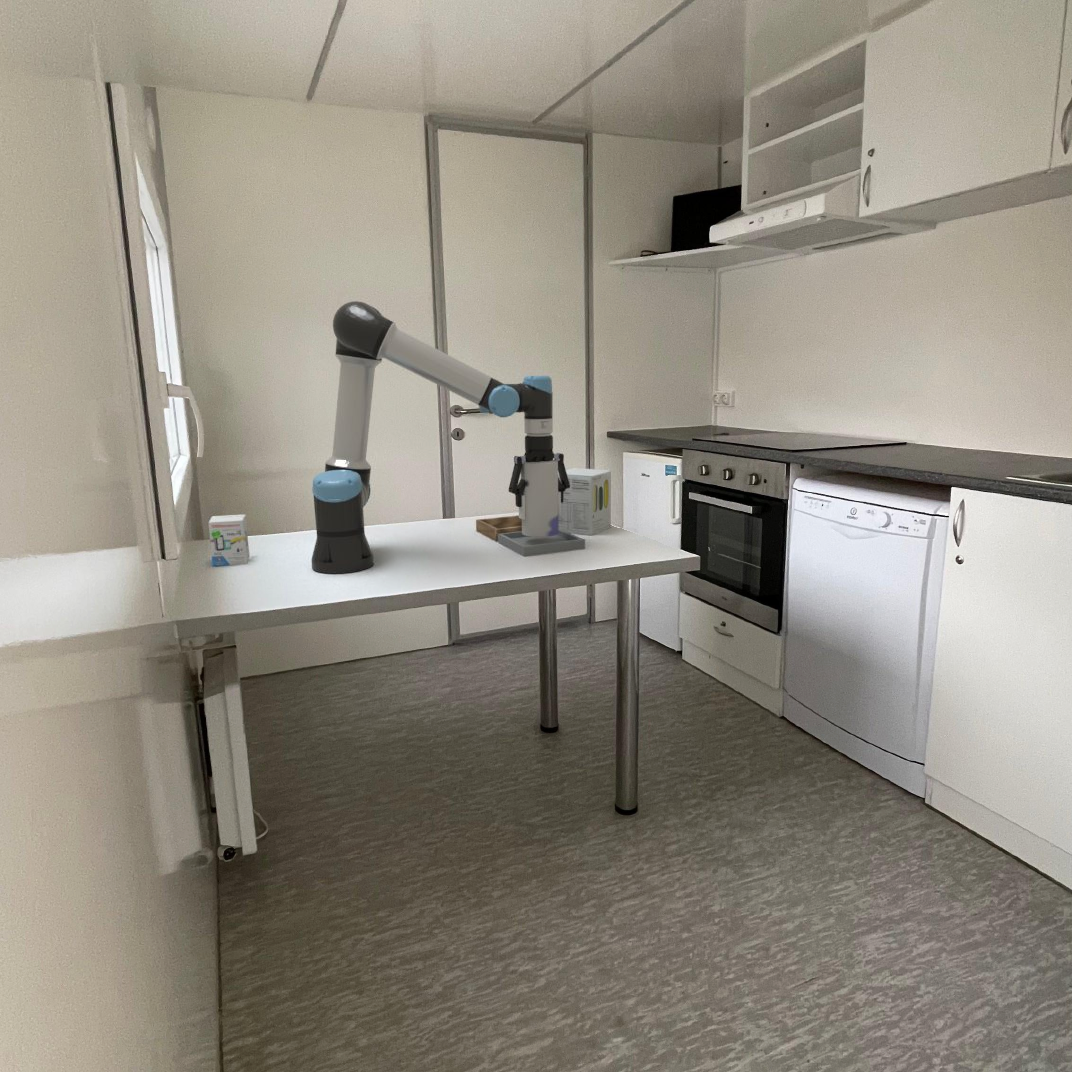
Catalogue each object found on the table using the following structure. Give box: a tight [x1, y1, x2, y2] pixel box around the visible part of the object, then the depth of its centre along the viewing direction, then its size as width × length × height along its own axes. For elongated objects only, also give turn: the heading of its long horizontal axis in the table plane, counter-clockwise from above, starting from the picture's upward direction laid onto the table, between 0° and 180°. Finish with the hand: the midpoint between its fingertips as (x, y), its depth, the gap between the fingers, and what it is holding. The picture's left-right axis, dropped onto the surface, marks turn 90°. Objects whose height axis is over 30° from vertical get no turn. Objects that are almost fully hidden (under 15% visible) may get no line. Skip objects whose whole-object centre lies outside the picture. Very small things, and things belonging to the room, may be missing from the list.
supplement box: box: [558, 467, 612, 536], centre depth 231 cm, size 13×13×18 cm
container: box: [520, 459, 559, 537], centre depth 211 cm, size 10×10×20 cm
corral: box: [475, 514, 522, 543], centre depth 229 cm, size 16×16×4 cm
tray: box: [497, 529, 586, 557], centre depth 213 cm, size 18×18×2 cm
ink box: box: [207, 514, 250, 567], centre depth 201 cm, size 8×8×12 cm
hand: (540, 516), depth 212 cm, fingers closed on container, 10 cm apart
